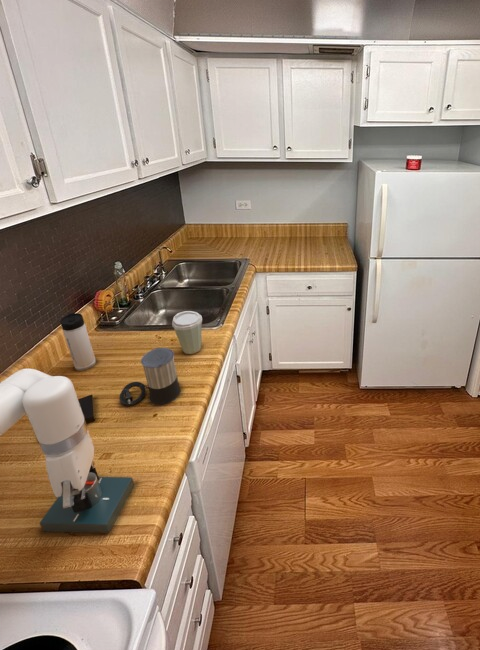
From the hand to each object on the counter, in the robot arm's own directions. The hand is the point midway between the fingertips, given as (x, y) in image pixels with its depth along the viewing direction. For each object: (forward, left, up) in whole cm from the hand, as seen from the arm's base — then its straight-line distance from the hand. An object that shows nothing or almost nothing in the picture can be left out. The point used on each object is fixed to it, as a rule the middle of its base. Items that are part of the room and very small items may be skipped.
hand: (87, 495), depth 72 cm
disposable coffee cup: (+21, +53, -4) cm, 57 cm away
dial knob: (0, 0, -1) cm, 1 cm away
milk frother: (+9, +32, -4) cm, 34 cm away
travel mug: (-15, +56, -4) cm, 58 cm away
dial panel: (0, 0, -4) cm, 4 cm away
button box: (-13, +30, -4) cm, 33 cm away
